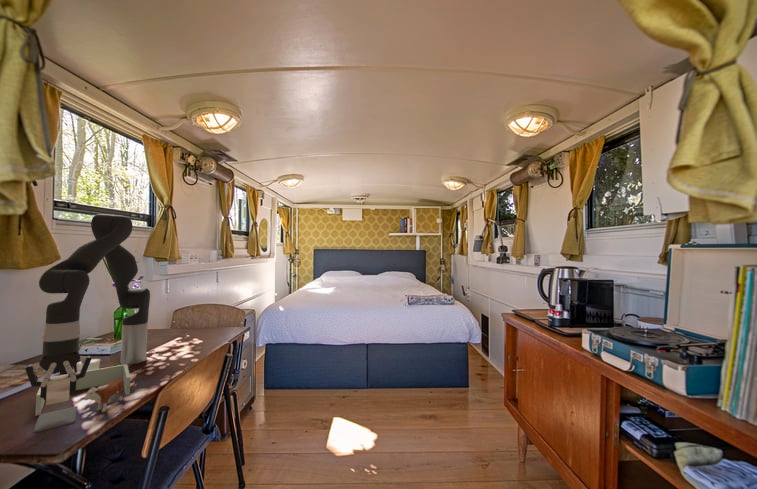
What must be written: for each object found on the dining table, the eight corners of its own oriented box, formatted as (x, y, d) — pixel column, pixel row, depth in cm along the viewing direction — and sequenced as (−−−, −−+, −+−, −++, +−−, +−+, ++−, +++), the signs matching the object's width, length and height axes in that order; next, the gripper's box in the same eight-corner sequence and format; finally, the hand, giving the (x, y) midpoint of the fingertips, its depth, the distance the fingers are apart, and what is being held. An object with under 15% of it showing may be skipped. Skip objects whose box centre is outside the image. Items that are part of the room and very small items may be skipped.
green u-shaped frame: (42, 396, 105) (44, 378, 106) (126, 379, 120) (126, 364, 120) (35, 415, 92) (36, 395, 92) (129, 394, 107) (130, 377, 107)
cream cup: (76, 384, 115) (77, 365, 116) (74, 379, 120) (75, 361, 120) (100, 379, 120) (101, 361, 121) (98, 374, 125) (99, 357, 125)
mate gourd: (52, 380, 118) (54, 341, 119) (65, 373, 126) (67, 336, 127) (77, 378, 121) (79, 339, 122) (88, 371, 128) (90, 335, 129)
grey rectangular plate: (39, 416, 92) (39, 414, 92) (77, 407, 97) (77, 406, 97) (33, 433, 83) (33, 431, 83) (75, 422, 89) (75, 420, 89)
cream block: (47, 399, 91) (49, 377, 91) (69, 395, 94) (71, 373, 94) (45, 405, 87) (47, 382, 88) (68, 400, 90) (70, 378, 91)
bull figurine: (79, 418, 91) (80, 390, 91) (114, 398, 104) (116, 373, 105) (94, 418, 91) (96, 390, 91) (128, 398, 104) (129, 373, 105)
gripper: (94, 331, 99) (91, 385, 98) (27, 338, 89) (23, 399, 89) (94, 335, 94) (91, 393, 93) (23, 344, 84) (18, 408, 83)
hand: (58, 396), depth 91 cm, fingers closed on cream block, 4 cm apart
